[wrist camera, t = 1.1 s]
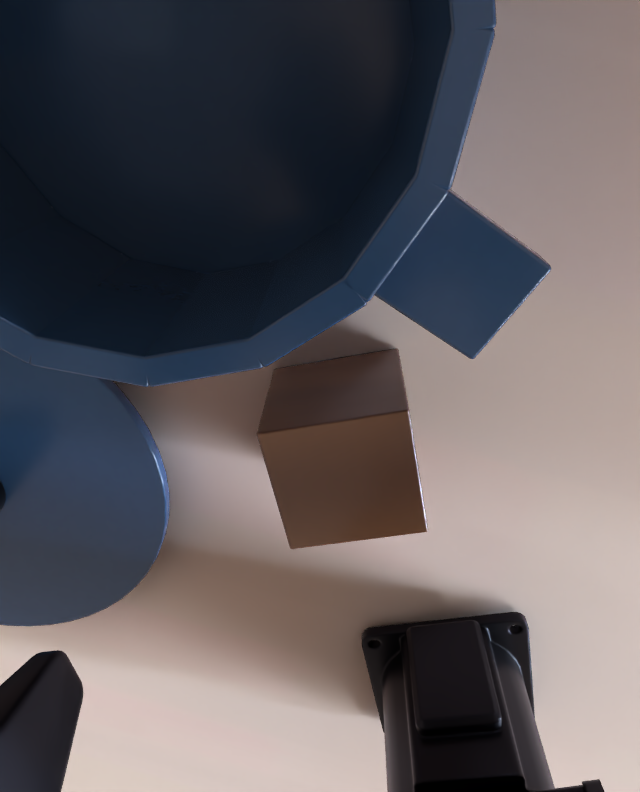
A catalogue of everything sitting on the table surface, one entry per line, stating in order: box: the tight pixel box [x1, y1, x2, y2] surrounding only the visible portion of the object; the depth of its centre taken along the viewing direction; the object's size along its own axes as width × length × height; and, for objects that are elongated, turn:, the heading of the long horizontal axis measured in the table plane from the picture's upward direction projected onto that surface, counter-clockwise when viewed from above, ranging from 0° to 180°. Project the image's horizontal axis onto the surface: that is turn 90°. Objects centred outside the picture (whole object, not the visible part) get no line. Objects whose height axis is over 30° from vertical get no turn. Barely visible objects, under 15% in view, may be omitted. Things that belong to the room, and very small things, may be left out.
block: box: [257, 349, 428, 549], centre depth 18 cm, size 4×4×4 cm
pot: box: [0, 0, 551, 387], centre depth 12 cm, size 12×18×6 cm
